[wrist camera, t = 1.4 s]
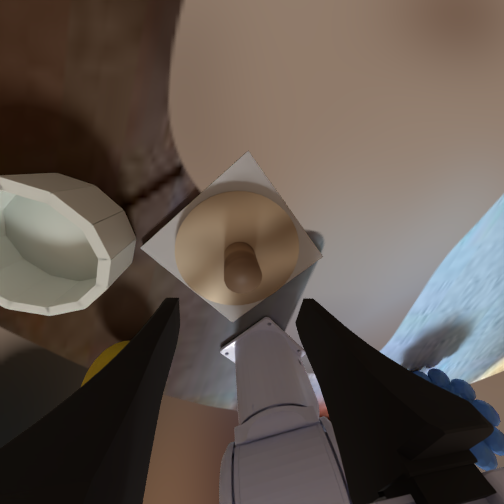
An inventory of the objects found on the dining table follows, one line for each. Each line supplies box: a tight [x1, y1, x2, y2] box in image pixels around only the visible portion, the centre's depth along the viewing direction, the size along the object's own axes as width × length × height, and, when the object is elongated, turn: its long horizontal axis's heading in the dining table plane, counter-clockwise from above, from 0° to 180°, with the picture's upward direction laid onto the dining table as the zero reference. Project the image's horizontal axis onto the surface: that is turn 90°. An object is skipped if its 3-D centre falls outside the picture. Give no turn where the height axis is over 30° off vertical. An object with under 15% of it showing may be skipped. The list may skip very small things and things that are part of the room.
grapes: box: [413, 368, 504, 471], centre depth 29 cm, size 12×7×12 cm, turn 99°
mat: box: [141, 151, 323, 323], centre depth 20 cm, size 13×13×1 cm
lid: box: [175, 191, 299, 305], centre depth 17 cm, size 12×12×5 cm
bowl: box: [0, 173, 136, 316], centre depth 15 cm, size 10×10×4 cm
